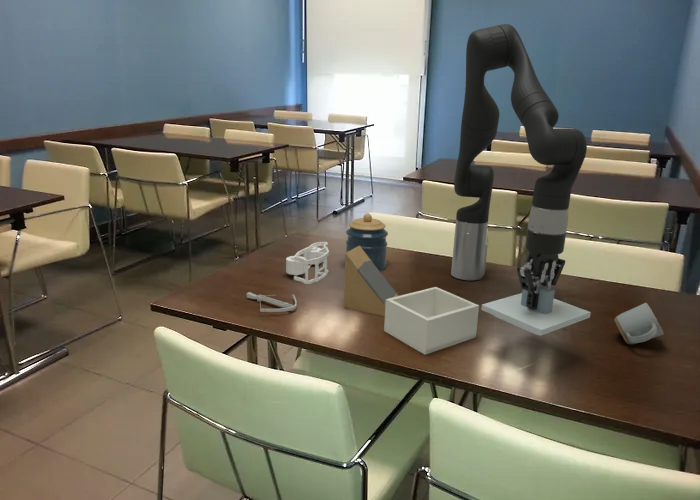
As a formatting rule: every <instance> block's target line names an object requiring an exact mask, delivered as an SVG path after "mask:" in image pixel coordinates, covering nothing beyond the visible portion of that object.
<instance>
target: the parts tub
mask: <svg viewBox="0 0 700 500" xmlns="http://www.w3.org/2000/svg"><path fill="white" fill-rule="evenodd" d="M479 311H480V305H479V304H476V303H474V302H472V301H470V300H468V299H465V298H462V297H461V296H458V295H456V294H455V293H452V292H449V291H446V290H444V289H442V288H439V287H437V286H434V287H433V286H432V287H430V288H429V287H428V288H426V289H422V290H421V289H420V290H418V291H413V292H410V293H406V294H401V295H399V296H397V297H393V298H389V299H386V306H385V316H384V323H383V324H384V327H383V332H385V333H387V334H388V335H391V336H392V337H394V338H396V340H399V341H400V342H402V343H404V344H406V345H407V346H408V347H409V346H410V347H411V348H412V349H415V350H416V351H418V352H419V353H421V354H423V355H424V356H425V355H426V356H427V355H428V354H431V353H435V352H437V351H441V350H443V349H446V348H450V347H452V346H455V345H458V344H461V343H463V342H467V341H469V340H470V341H471V340H472V339H476V336H477V328H478V321H479V320H478V319H479Z"/></svg>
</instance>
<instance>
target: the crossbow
mask: <svg viewBox="0 0 700 500" xmlns="http://www.w3.org/2000/svg"><path fill="white" fill-rule="evenodd" d="M270 296H275V294H270V295H269V294H268V295H266V294H265V295H263V294H255V293H252V291H248V292H247V293H246V298H247V299H250V300H251V299H252V300H257V302H259V306H260V309H259V312H260V313H266V312H267V313H277V312H278V313H281V312H289V311H290V312H291V311H293V310H296V309H297V307H298V306H297V303H298V302H297V301H298V300H297V297H296V296H295V294H292V298H293V299H292V300H294V305H293V304H291V303H289V302H284V301H281V300H278V299H275V298H272V297H270ZM262 301H264V302H265V303H266V302H267V303H269V304H273V305H275V306H278V307H281V308H263V307H262V306H261V302H262Z"/></svg>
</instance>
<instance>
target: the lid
mask: <svg viewBox="0 0 700 500" xmlns="http://www.w3.org/2000/svg"><path fill="white" fill-rule="evenodd" d="M533 284H534V287H535V284H536V283H535V282H533ZM555 293H556V289H555V288H552V287H551V288H549V287H546V286H543V285H541V286H540V290H539V297H538V304H537V309H535V310H532V309H530V308H528V307H527V306H526V302H527V295H528V291H527V290H523V291H521V292H520V293H517V294H514V295H510V296H507V297H504V298H500V299H495V300H493V301H489V302H486V303H483V304H481V311H483V312H486V313H488V314H491V315H492V316H493V317H494V318H497V319H498V320H499V319H500V320H501V321H504V322H507V323H509V324H510V325H513V326H516V327H517V328H520V329H522V330H524V331H527V332H529V333H531V334H533V335H534V336H543V335H546V334H549V333H551V332H554V331H557V330H560V329H562V328H563V329H564V328H566V327H568V326H571V325H574V324H575V323H579V322H581V321H584V320H587V319H590V317H591V313H592V312H591V311H588V310H586V309H583V308H580V307H579V306H578V307H577V306H575V305H572V304H570V303H568V302H565V301H562V300H559V299H556V298H555Z"/></svg>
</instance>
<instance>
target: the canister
mask: <svg viewBox="0 0 700 500" xmlns="http://www.w3.org/2000/svg"><path fill="white" fill-rule="evenodd" d="M348 226H349V228H348V229H347V230H346V231H345V233H346V235H347V238H346V239H347V240H346V241H345V253H346V252H348V251H350V250H352V249H354V248H356V247H358V246H360V247H361V248H362V249H363V251H364V252H365V253H366V254H367V256H368V257H369V258H370V260H371V261H372V262H373V264H374V265H375V266H376V268H377V269H378V270H379V271H380V272H381V271H383V270H385V269H386V268H387V246H388V241H387V236H388V235H389V232H388V231H387V230H386V229H385V228H386V224H385V223H383V222H382V221H381V220H380V219H377V218H373V216H372V215H371V214H370V213H365V214H364V215H363V217H362V218H355V219H354V220H353V221H351V222H349V223H348Z"/></svg>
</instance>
